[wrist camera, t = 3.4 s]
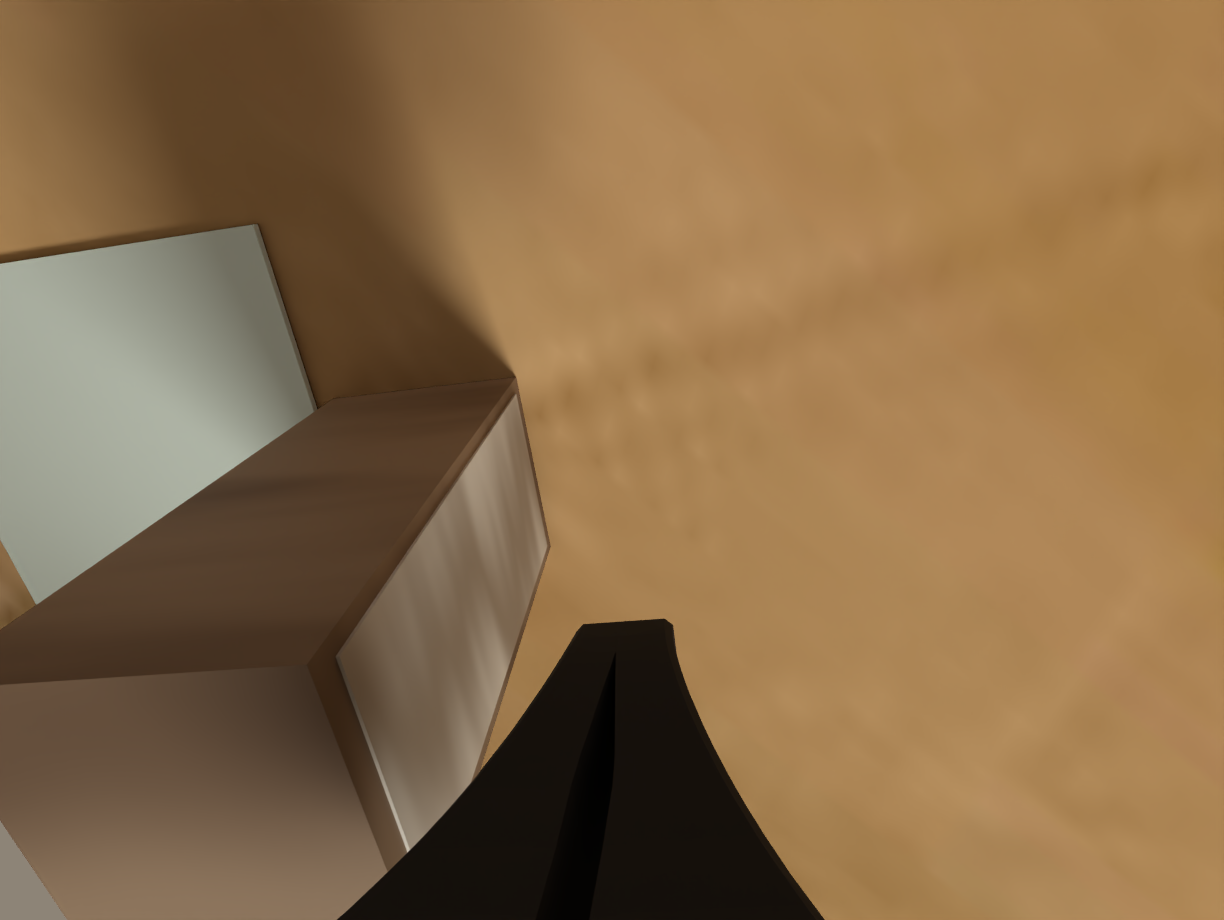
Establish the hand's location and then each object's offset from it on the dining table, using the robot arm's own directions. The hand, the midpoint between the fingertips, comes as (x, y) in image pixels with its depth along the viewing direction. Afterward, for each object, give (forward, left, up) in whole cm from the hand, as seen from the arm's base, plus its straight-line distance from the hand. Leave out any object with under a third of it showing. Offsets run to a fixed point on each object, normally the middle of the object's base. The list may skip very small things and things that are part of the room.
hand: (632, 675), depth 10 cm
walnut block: (0, +6, -8) cm, 10 cm away
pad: (0, +14, -8) cm, 16 cm away
